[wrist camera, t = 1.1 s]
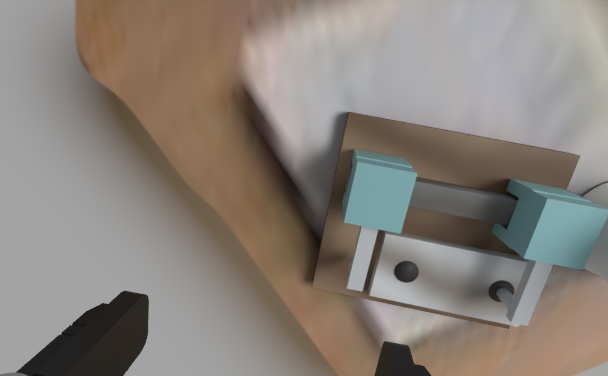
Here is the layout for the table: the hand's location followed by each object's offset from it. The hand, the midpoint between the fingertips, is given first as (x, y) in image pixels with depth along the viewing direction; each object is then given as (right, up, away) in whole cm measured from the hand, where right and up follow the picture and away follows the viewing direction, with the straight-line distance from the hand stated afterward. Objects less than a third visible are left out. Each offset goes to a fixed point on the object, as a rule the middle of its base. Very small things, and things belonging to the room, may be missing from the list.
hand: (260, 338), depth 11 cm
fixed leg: (+19, +1, +17) cm, 25 cm away
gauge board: (+13, +2, +18) cm, 22 cm away
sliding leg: (+7, +3, +17) cm, 19 cm away
